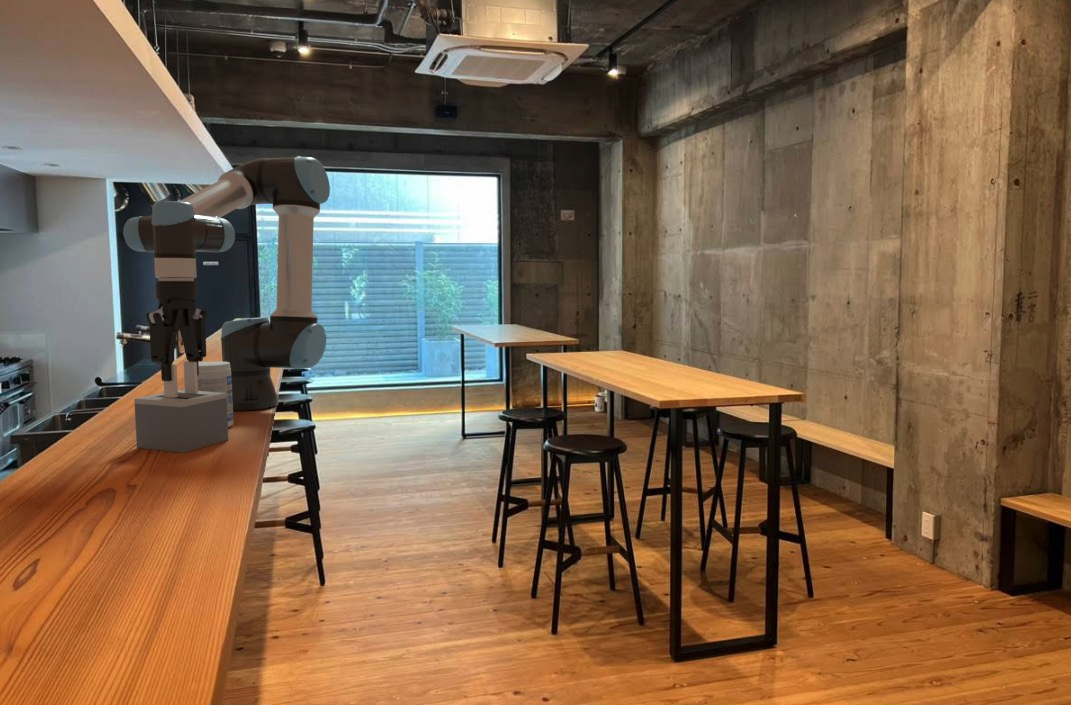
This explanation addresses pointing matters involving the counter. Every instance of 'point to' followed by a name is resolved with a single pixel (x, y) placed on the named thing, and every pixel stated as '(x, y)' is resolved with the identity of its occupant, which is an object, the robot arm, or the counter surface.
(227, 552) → the counter surface
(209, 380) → the supplement tub
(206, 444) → the box
